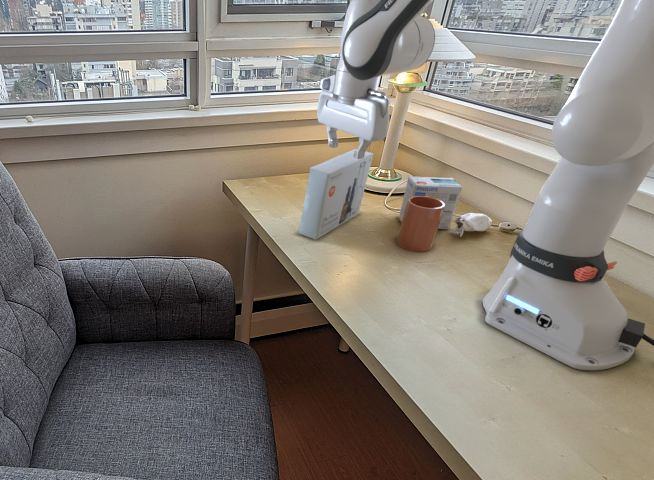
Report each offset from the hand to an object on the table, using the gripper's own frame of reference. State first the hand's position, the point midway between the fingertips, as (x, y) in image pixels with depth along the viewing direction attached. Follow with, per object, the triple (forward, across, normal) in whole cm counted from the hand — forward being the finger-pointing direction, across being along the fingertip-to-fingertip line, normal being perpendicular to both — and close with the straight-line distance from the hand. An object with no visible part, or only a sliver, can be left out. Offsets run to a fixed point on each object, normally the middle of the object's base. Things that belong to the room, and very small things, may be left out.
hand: (345, 152), depth 107 cm
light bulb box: (+18, -8, -21) cm, 28 cm away
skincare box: (+18, 0, 0) cm, 18 cm away
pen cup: (+18, -16, -11) cm, 26 cm away
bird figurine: (+18, -15, -28) cm, 37 cm away
